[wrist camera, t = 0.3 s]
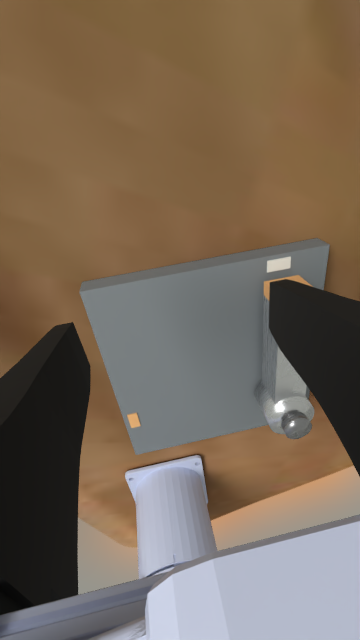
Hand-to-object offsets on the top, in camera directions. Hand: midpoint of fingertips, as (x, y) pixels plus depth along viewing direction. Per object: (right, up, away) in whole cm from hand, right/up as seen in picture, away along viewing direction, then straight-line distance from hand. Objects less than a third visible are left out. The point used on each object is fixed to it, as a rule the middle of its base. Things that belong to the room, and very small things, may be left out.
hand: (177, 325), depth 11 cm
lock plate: (+3, -3, +14) cm, 15 cm away
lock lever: (+8, -2, +13) cm, 15 cm away
